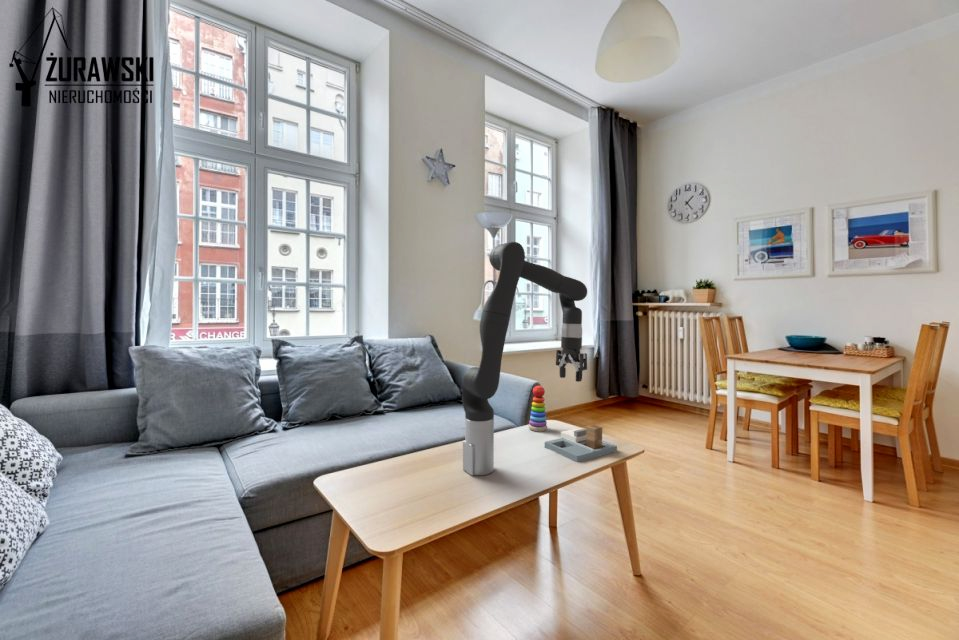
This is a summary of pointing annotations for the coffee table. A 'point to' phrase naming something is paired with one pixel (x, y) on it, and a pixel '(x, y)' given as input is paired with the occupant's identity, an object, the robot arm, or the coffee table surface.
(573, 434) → the lid
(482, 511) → the coffee table surface
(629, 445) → the coffee table surface
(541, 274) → the robot arm
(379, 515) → the coffee table surface
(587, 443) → the walnut post
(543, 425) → the stacking toy
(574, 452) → the puzzle board
